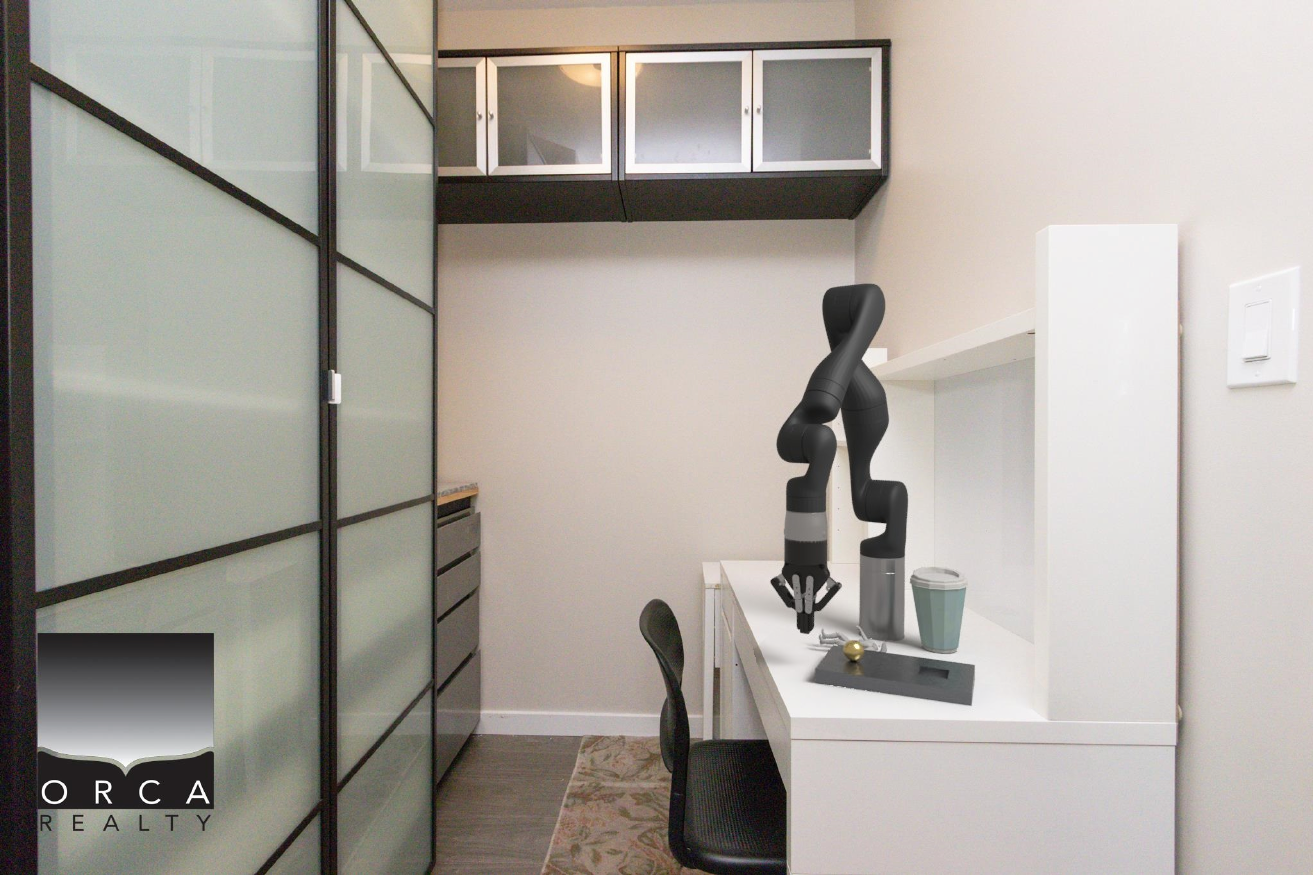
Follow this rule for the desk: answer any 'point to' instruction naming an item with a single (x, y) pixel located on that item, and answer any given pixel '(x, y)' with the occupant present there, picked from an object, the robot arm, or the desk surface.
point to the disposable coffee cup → (939, 607)
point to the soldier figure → (844, 639)
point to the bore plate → (899, 675)
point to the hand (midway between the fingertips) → (805, 632)
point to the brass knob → (853, 650)
